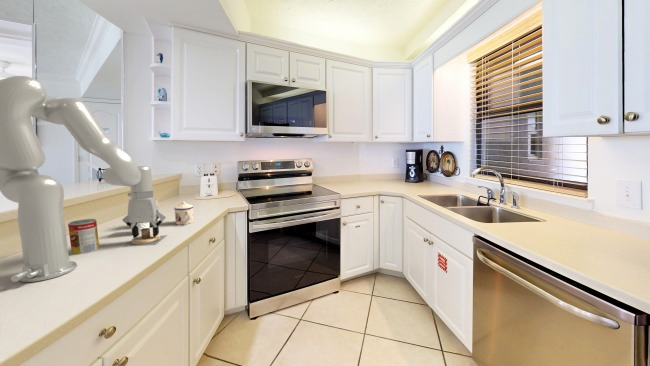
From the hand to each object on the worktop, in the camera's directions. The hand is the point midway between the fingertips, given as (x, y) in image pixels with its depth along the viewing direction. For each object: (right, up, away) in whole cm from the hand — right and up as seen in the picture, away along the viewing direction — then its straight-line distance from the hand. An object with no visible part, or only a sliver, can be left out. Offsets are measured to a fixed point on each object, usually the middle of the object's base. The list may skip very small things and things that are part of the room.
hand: (146, 235), depth 108 cm
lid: (0, -2, 0) cm, 2 cm away
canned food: (-16, -4, -10) cm, 20 cm away
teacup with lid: (+1, +1, +29) cm, 29 cm away
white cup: (-10, -2, +11) cm, 16 cm away
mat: (0, -3, 0) cm, 3 cm away
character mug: (-14, 0, +24) cm, 28 cm away
